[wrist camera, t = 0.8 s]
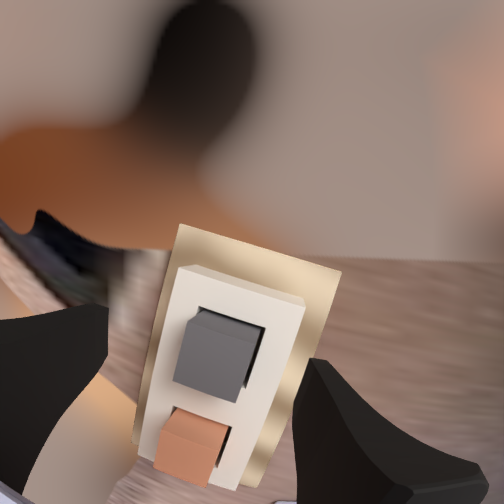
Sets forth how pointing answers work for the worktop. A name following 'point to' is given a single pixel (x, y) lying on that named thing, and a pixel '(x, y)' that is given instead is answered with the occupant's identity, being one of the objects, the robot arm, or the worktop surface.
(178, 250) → the birch board
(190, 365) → the grey cube
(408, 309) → the worktop surface
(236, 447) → the plunger panel
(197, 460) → the terracotta plunger
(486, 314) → the worktop surface
